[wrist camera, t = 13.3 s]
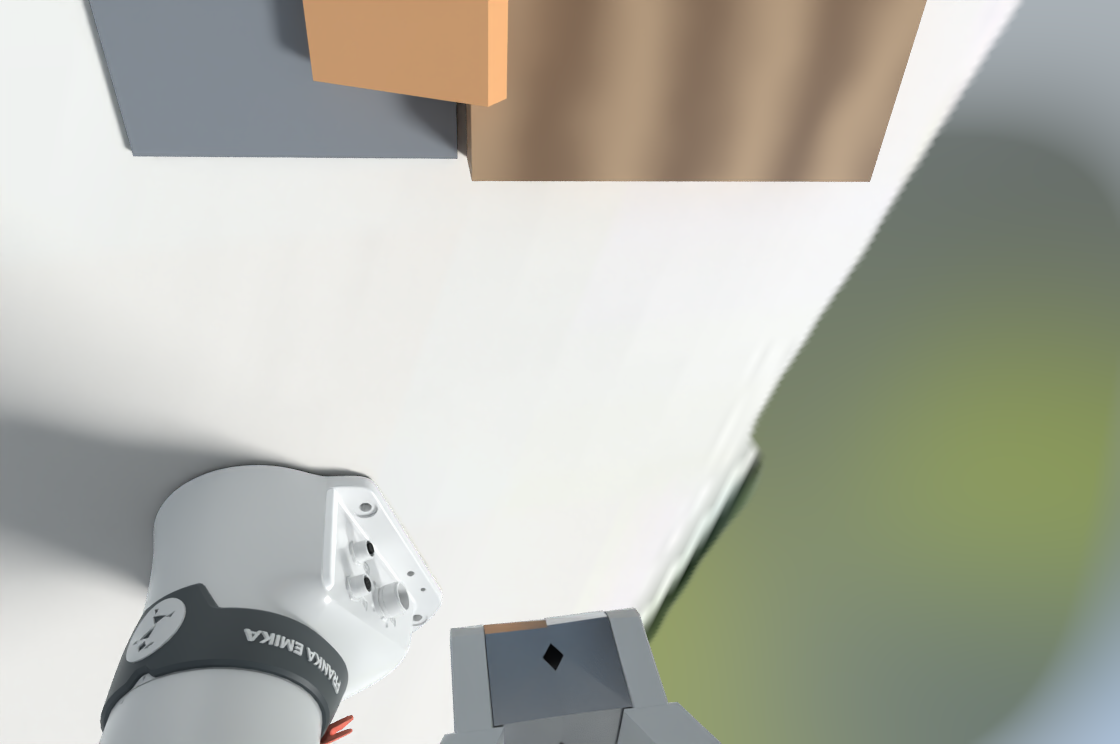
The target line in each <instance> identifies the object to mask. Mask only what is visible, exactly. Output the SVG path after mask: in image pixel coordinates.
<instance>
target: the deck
mask: <svg viewBox="0 0 1120 744" xmlns="http://www.w3.org/2000/svg"><path fill="white" fill-rule="evenodd" d="M926 1H927V0H508V43H507V99H504V100H502V101H500V102H498V103H496V104H493V105H491V106H489V107H485V106H479V105H472V104H466V128H467V160H468V164H469V169H470V174H471V178H472V181H809V182H870V180H871V177H872V173H873V170H874V167H875V164H876V161H877V157H878V154H879V151H880V148H881V145H882V141H883V138H884V135H885V132H886V129H887V126H888V122H889V119H890V116H891V113H892V110H893V106H894V103H895V100H896V97H897V94H898V91H899V87H900V84H901V81H902V78H903V75H904V71H905V68H906V65H907V62H908V59H909V56H910V52H911V49H912V46H913V43H914V40H915V36H916V33H917V30H918V27H919V24H920V21H921V17H922V14H923V11H924V8H925V5H926Z"/></svg>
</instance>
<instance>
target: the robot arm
mask: <svg viewBox="0 0 1120 744" xmlns="http://www.w3.org/2000/svg"><path fill="white" fill-rule="evenodd" d="M363 503H368V504H367V505H365V504H363ZM442 598H443V593H442V590H441V588H440V587H439V585H438V583H437V582H436V580H435V579H434V577H433V575H432V574H431V572H430V570H429V569H428V567H427V566H426V564H425V562H424V561H423V559H422V558H421V556H420V554H419V553H418V551H417V549H416V548H415V546H414V545H413V543H412V541H411V540H410V538H409V537H408V535H407V533H406V532H405V530H404V529H403V527H402V525H401V524H400V522H399V520H398V519H397V517H396V516H395V514H394V512H393V511H392V509H391V508H390V506H389V504H388V503H387V501H386V499H385V498H384V496H383V495H382V493H381V491H380V490H379V488H378V487H377V485H376V484H375V482H373V481H372V480H371V479H369V478H366V477H362V476H328V477H326V476H319V475H315V474H310V473H307V472H303V471H299V470H295V469H290V468H285V467H279V466H268V465H246V466H236V467H229V468H224V469H220V470H216V471H212V472H209V473H206V474H204V475H201V476H199V477H196V478H194V479H192V480H190V481H189V482H187V483H185V484H184V485H182V486H181V487H179V488H178V489H177V490H175V491H174V492H173V493H172V494H171V495H170V496H169V497H168V498H167V499H166V500H165V502H164V503H163V504H162V506H161V508H160V509H159V511H158V513H157V516H156V519H155V522H154V551H153V562H152V570H151V577H150V583H149V588H148V593H147V598H146V603H145V607H144V611H143V615H142V617H141V618H140V620H139V622H138V624H137V626H136V628H135V629H134V631H133V633H132V635H131V637H130V639H129V642H128V644H127V646H126V648H125V650H124V652H123V655H122V657H121V660H120V662H119V665H118V668H117V670H116V673H115V676H114V678H113V681H112V684H111V687H110V690H109V693H108V696H107V699H106V702H105V704H104V707H103V710H102V713H101V720H100V722H101V729H102V732H103V734H102V736H101V739H100V742H99V744H329V743H331V742H333V741H335V740H337V739H340V738H342V737H344V736H345V735H347V734H349V733H351V732H352V729H347V730H344V731H341V732H338V733H336V732H337V731H339V730H341V729H343V728H344V727H345V726H346V725H347V724H348V723H350V722H351V721H352V720H353V716H352V715H350V716H347V717H345V718H343V719H341V720H339V721H336V722H334V723H332V724H330V723H331V721H332V719H333V717H334V715H335V713H336V711H337V708H338V706H339V704H340V702H341V701H343V700H345V699H347V698H349V697H351V696H353V695H355V694H357V693H359V692H360V691H362V690H364V689H366V688H368V687H370V686H371V685H373V684H375V683H377V682H378V681H380V680H381V679H383V678H384V677H386V676H387V675H388V674H390V673H391V672H392V671H393V670H394V669H395V668H396V667H397V666H398V665H399V664H400V663H401V662H402V661H403V659H404V658H405V656H406V654H407V652H408V650H409V647H410V643H411V637H412V633H413V632H415V631H416V630H417V629H419V628H420V627H422V626H423V625H424V624H425V623H426V622H428V621H429V620H430V619H431V618H432V617H433V616H434V614H435V613H436V612H437V611H438V609H439V608H440V606H441V604H442ZM450 649H451V669H452V690H453V710H454V731H455V733H451V734H446V735H444V737H443V739H442V741H441V743H440V744H721V743H720V742H719V741H718V740H717V739H716V738H715V737H714V736H713V735H712V734H711V733H710V732H708V730H707V729H705V728H704V727H703V726H702V725H701V724H700V723H699V722H698V721H697V720H696V719H695V718H694V717H693V716H692V715H691V714H689V713H688V712H687V711H686V710H685V709H684V708H683V707H682V706H681V705H680V704H679V703H678V702H673V703H668V701H667V697H666V694H665V691H664V688H663V685H662V682H661V679H660V676H659V673H658V670H657V667H656V663H655V660H654V657H653V654H652V651H651V648H650V645H649V642H648V639H647V636H646V633H645V630H644V626H643V623H642V620H641V617H640V614H639V613H638V612H637V610H636V609H635V608H626V609H619V610H611V611H595V612H587V613H580V614H572V615H565V616H557V617H549V618H544V619H540V620H530V621H520V622H510V623H500V624H490V625H483V626H482V625H477V626H468V627H460V628H451V630H450ZM335 733H336V734H335Z"/></svg>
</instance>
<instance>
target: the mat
mask: <svg viewBox="0 0 1120 744" xmlns="http://www.w3.org/2000/svg"><path fill="white" fill-rule="evenodd" d="M89 2H90V6H91V9H92V13H93V16H94V20H95V23H96V27H97V30H98V34H99V37H100V41H101V44H102V48H103V51H104V55H105V58H106V62H107V65H108V69H109V72H110V76H111V79H112V83H113V86H114V90H115V93H116V97H117V101H118V104H119V108H120V111H121V115H122V118H123V122H124V125H125V129H126V132H127V136H128V139H129V143H130V146H131V150H132V153H133V156H172V157H306V158H439V159H457V119H456V102H452V101H445V100H438V99H432V98H425V97H418V96H412V95H405V94H398V93H392V92H385V91H378V90H372V89H365V88H358V87H351V86H345V85H338V84H331V83H325V82H318V81H313V75H312V68H311V60H310V53H309V45H308V37H307V30H306V22H305V15H304V7H303V0H89Z"/></svg>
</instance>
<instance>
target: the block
mask: <svg viewBox="0 0 1120 744" xmlns="http://www.w3.org/2000/svg"><path fill="white" fill-rule="evenodd" d="M303 7H304V15H305V22H306V30H307V37H308V45H309V53H310V60H311V68H312V75H313V81H318V82H325V83H331V84H338V85H345V86H351V87H358V88H365V89H372V90H378V91H385V92H392V93H398V94H405V95H412V96H418V97H425V98H432V99H438V100H445V101H452V102H458V103H465V104H472V105H479V106H485V107H489V106H491V105H493V104H496V103H498V102H500V101H502V100H504V99H507V43H508V0H303Z"/></svg>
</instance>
